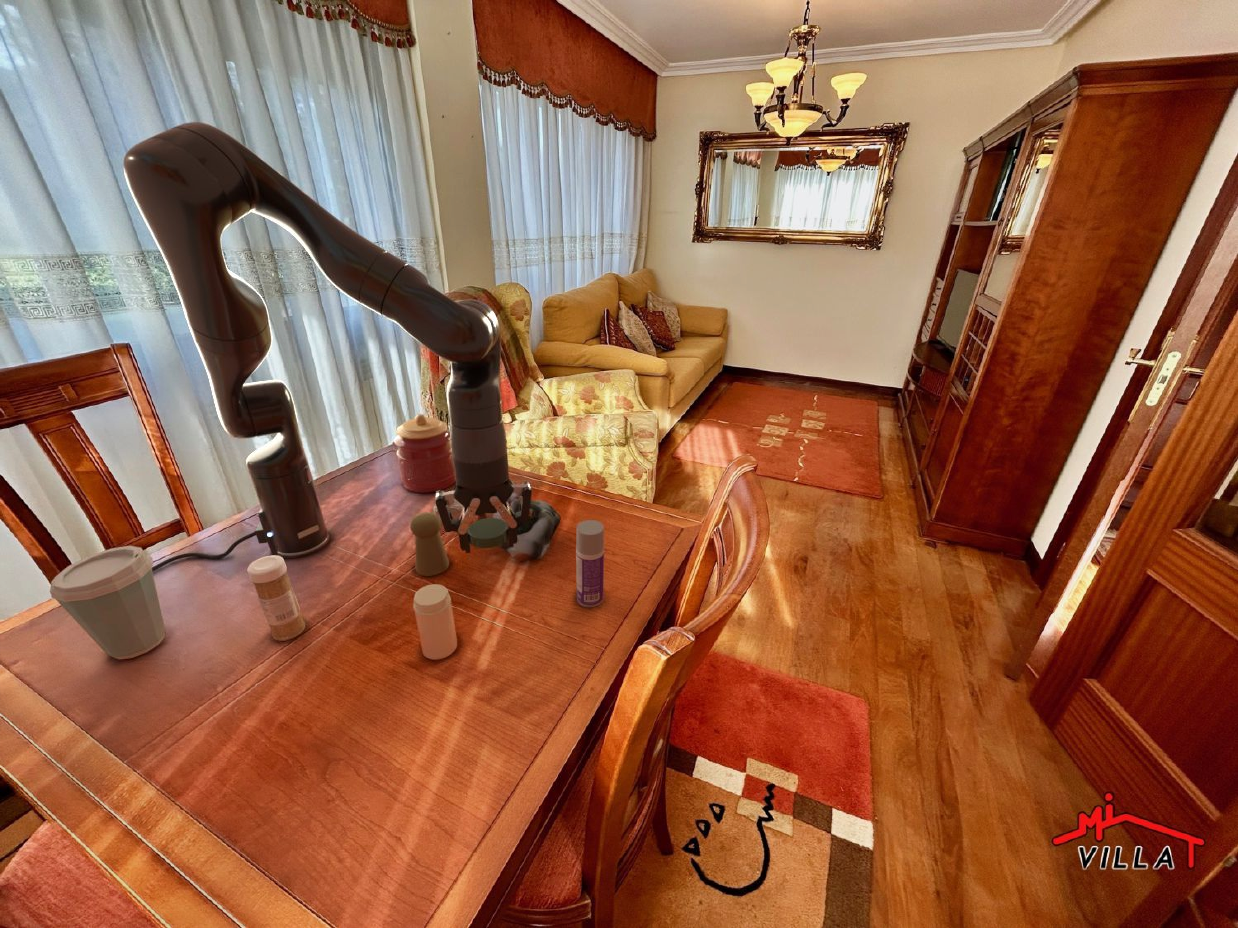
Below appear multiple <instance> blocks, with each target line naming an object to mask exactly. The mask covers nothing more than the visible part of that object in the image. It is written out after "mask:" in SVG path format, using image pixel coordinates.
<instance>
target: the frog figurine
mask: <svg viewBox="0 0 1238 928" xmlns="http://www.w3.org/2000/svg"><path fill="white" fill-rule="evenodd" d="M463 507H464V506H463V505H461V504H460V503H459V502H458V501H457V500H456V499H453V500H452V505H451V506H450V507H449V508H450V511H451V514H452V517H453V519H454V520H459V518H460V516H461V514H462V510H463ZM432 508H433V509H432V511H433V513H434V514H436V515H437V516H438V517H439V519H440V521H441V518H440V515H439V512H438V509H437V506H436V503H435V502H434V505H433V507H432Z"/></svg>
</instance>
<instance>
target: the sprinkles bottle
mask: <svg viewBox="0 0 1238 928" xmlns="http://www.w3.org/2000/svg"><path fill="white" fill-rule="evenodd" d="M287 569H288V568H287V565H286V562H285V560H284V557H280V556H276V555H272V554H271V555H265V556H262V557H260V558H257V559H255V560H254V561H252V562H251V563H249V565H248V566H247V574H248V577H249V580H250V581H251V582H252V584H253V586H254V589H255V591H256V594H257V597H258V601H259V603H260V605H261V608H262V611H263V614H264V616H265V619H266V621H267V623H268V625H269V628H270V631H271V635H272V638H273V639H274V640H275V641H280V642H286V641H289V640H291V639H295V638H296V637H298V636H299V635H301V634H302V633H303V631H304V630H305V628H306V622H305V620H304V619H303V616H302V612H301V608H300V605H299V602H298V599H297V596H296V594H295V592H294V589H293V586H292V583H291V581H290V578H289V576H288V575H289V574H288V571H287Z"/></svg>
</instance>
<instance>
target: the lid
mask: <svg viewBox="0 0 1238 928" xmlns="http://www.w3.org/2000/svg"><path fill="white" fill-rule="evenodd" d="M468 537H469V542H470V546H473V547H475V548H477V549H485V550H486V549H492V548H496V547H498V546H499V545H501V544H503V543H504V542H505V541H506V540H507V538H508V529H507V524H506V522H504V521H503V520H501V519H497V518H486V519H481V520H475V521H474V522H471V523H470V524H469V527H468Z"/></svg>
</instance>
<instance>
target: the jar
mask: <svg viewBox="0 0 1238 928" xmlns="http://www.w3.org/2000/svg"><path fill="white" fill-rule="evenodd" d="M412 607H413V612H414V617H415V622H416V627H417V631H418V632H417V633H418V636H419V642H420V646H421V651H422V652H421V653H422V655H423V656H424V657H425V658H426V659H429V660H435V661H437V660H442V659H445V658H447V657H449V656H450V655H452V654H453V653H454V652H455V651H456V649H457V647H458V637H457V630H456V629H457V628H456V625H455V623H456V622H455V618H454V612H453V611H454V609H453V604H452V598H451V595H450V594H449V590H448V588H447V587H446V586H444V585H442V584H440V583H439V584H438V583H437V584H436V583H434V584H427V585H424V586H423V587H421V588H419V589H417V591H416V592H415V594H414V596H413V605H412Z"/></svg>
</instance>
